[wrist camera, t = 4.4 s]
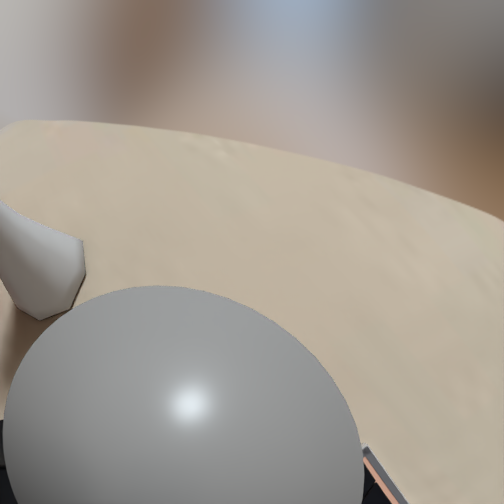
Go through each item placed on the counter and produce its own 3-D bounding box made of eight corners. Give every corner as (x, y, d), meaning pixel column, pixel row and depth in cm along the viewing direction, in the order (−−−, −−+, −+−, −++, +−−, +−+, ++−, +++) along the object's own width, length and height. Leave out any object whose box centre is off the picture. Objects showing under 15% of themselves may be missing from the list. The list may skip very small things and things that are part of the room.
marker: (224, 486, 12) (110, 632, 1) (179, 412, 14) (-25, 367, 3) (304, 443, 13) (430, 518, 2) (256, 371, 15) (227, 225, 4)
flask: (80, 323, 18) (-21, 248, 10) (10, 320, 18) (-81, 258, 10) (96, 231, 22) (30, 135, 13) (29, 239, 22) (-39, 163, 13)
